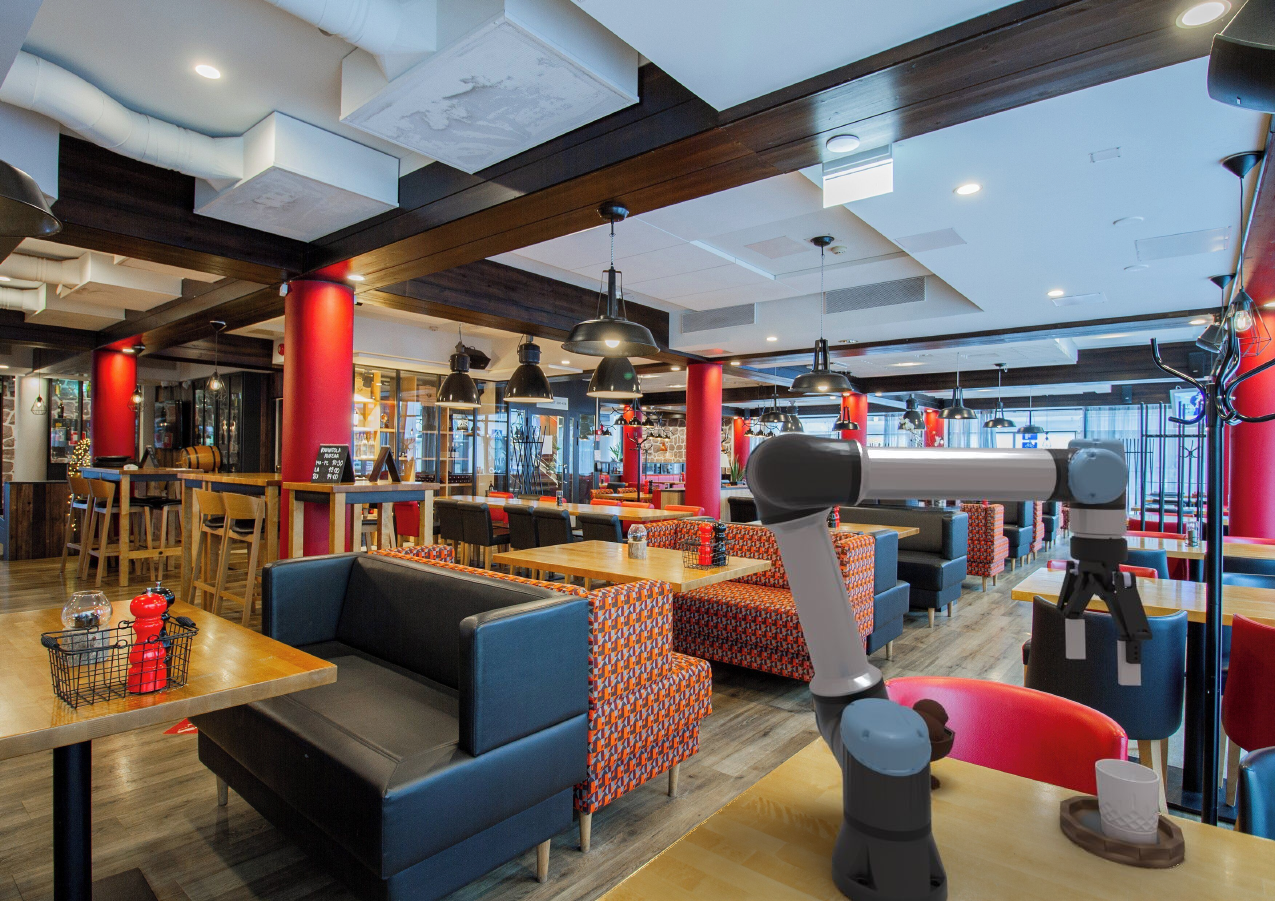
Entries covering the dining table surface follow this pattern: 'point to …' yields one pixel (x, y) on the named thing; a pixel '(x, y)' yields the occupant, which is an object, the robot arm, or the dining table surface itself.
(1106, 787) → the white cup
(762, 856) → the dining table surface
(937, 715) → the ice cream bowl
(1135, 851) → the tray
